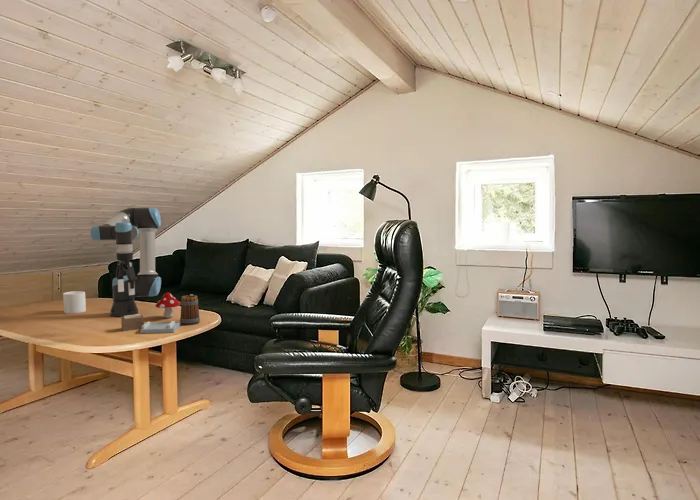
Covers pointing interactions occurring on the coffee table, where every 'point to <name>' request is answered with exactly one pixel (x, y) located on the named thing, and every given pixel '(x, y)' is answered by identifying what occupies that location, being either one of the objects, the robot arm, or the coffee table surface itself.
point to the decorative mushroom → (168, 304)
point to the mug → (189, 310)
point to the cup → (74, 302)
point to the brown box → (132, 322)
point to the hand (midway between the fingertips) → (126, 293)
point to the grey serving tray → (160, 327)
